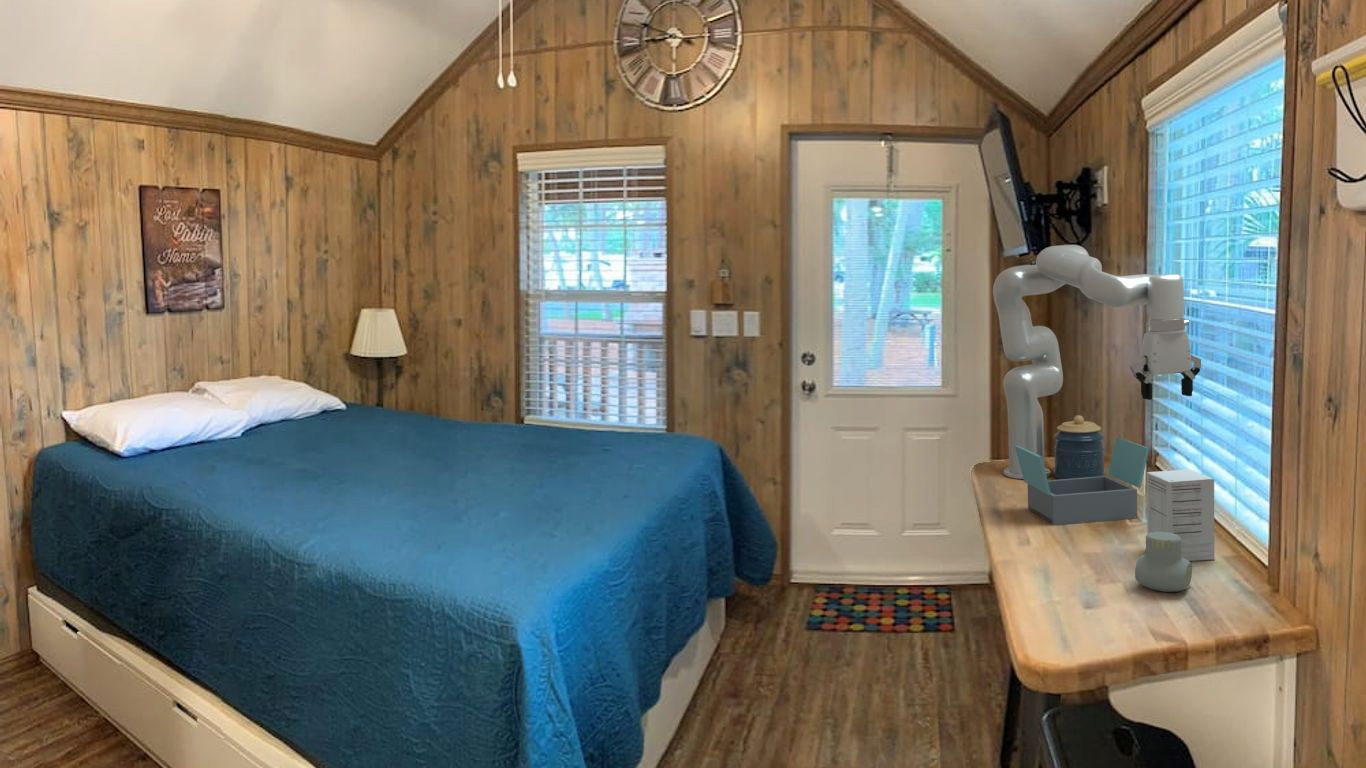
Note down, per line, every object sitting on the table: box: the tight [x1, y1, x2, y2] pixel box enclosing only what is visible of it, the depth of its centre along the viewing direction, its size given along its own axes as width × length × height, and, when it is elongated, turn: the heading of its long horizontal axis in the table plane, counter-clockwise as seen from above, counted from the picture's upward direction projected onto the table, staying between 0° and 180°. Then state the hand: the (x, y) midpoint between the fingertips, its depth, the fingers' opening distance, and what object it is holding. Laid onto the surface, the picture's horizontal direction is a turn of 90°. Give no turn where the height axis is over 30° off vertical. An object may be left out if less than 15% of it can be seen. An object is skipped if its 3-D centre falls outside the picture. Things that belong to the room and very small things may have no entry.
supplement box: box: [1146, 469, 1216, 562], centre depth 180 cm, size 10×9×17 cm
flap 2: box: [1107, 436, 1150, 489], centre depth 212 cm, size 14×10×1 cm
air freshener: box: [1134, 532, 1193, 593], centre depth 164 cm, size 11×8×10 cm
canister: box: [1053, 414, 1106, 480], centre depth 245 cm, size 13×13×18 cm
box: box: [1027, 475, 1138, 526], centre depth 212 cm, size 14×20×7 cm
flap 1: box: [1015, 445, 1051, 495], centre depth 211 cm, size 14×10×1 cm
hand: (1167, 397), depth 210 cm, fingers open, 9 cm apart
